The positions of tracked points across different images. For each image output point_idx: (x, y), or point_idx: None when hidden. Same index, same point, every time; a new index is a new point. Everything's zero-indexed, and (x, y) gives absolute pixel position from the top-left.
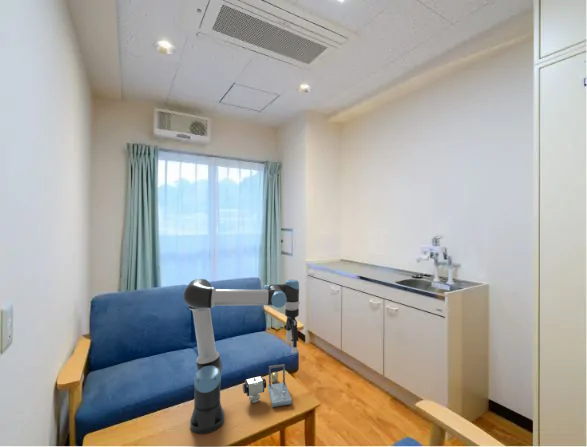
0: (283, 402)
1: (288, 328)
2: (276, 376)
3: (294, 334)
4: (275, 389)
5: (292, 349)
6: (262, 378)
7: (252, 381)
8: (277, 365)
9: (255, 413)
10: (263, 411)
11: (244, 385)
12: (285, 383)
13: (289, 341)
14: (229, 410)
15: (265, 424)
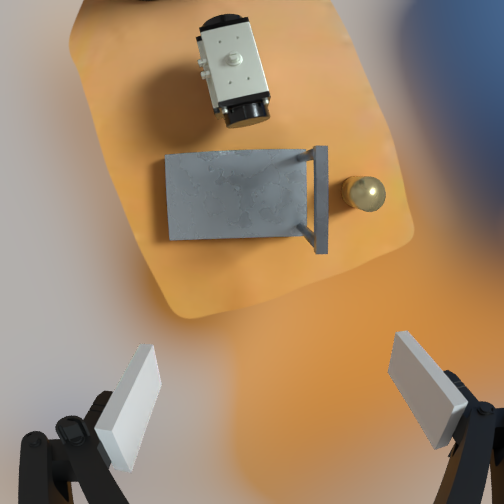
0: (168, 203)
1: (459, 445)
2: (352, 199)
3: (27, 501)
4: (259, 179)
5: (130, 367)
6: (240, 101)
7: (223, 49)
8: (321, 204)
9: (160, 92)
10: (164, 121)
11: (214, 18)
12: (298, 234)
13: (393, 360)
14: (201, 8)
15: (99, 129)
